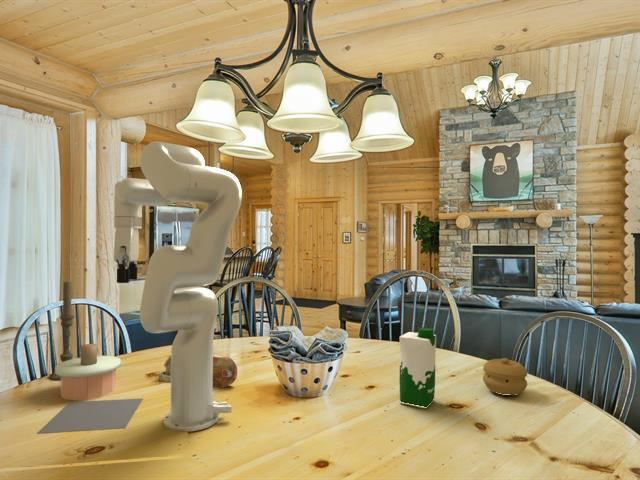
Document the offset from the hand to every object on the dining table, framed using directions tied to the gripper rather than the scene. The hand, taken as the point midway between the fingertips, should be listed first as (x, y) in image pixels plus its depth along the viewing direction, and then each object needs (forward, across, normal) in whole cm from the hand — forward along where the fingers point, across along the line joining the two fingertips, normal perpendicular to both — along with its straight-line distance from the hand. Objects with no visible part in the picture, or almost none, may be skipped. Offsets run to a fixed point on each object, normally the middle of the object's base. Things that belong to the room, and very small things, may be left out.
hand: (127, 281), depth 127 cm
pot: (+31, +24, +108) cm, 115 cm away
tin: (+31, +4, +26) cm, 40 cm away
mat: (+30, +24, -1) cm, 39 cm away
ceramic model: (+31, -4, +15) cm, 34 cm away
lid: (+23, +7, -8) cm, 26 cm away
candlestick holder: (+31, -10, -20) cm, 38 cm away
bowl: (+30, +7, -8) cm, 32 cm away
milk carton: (+31, +27, +80) cm, 90 cm away
